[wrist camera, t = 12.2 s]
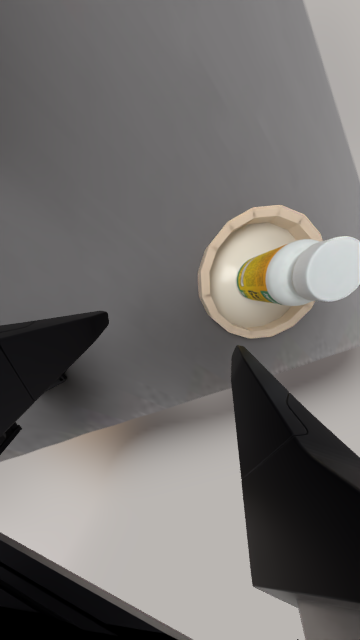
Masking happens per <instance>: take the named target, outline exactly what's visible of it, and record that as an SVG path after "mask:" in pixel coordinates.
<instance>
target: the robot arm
mask: <svg viewBox="0 0 360 640" xmlns="http://www.w3.org/2000/svg"><path fill="white" fill-rule="evenodd" d="M108 324H109V318H108V313H107V312H105V311H96V312H89V313H83V314H76V315H70V316H63V317H56V318H50V319H43V320H37V321H30V322H23V323H16V324H9V325H1V326H0V455H1V453H2V452H3V451H4V450H5V448H6V447H7V446H8V445H9V444H10V442H11V441H12V440H13V439H14V438H15V436H16V435H17V434H18V433H19V432H20V430H21V429H22V428H21V427H20V425H17V423H16V421H17V420H18V419H19V418H20V417H21V416H22V414H23V413H24V412H25V411H26V410H27V409H28V408H29V407H30V406H31V405H32V404H33V403H34V402H35V401H36V400H37V399H38V398H39V397H40V396H41V395H42V394H43V393H44V392H45V391H47V390H49V389H51V388H53V387H55V386H57V385H59V384H61V383H62V382H64V381H65V380H66V379H67V377H66V376H65V375H64V372H65V371H66V370H67V369H68V368H69V367H70V366H71V365H72V364H73V363H74V362H75V361H76V360H77V359H78V358H79V357H80V356H81V355H82V354H83V353H84V352H85V351H86V350H87V349H88V348H89V347H90V346H91V345H92V344H93V343H94V342H95V341H96V339H97V338H98V337H99V336H100V335H101V333H102V332H103V331H104V330H105V328H106V327H107V326H108ZM231 383H232V392H233V401H234V402H233V403H234V412H235V422H236V432H237V441H238V450H239V460H240V470H241V479H242V490H243V500H244V510H245V519H246V529H247V539H248V548H249V558H250V568H251V576H252V584H253V587H255V588H257V589H259V590H261V591H263V592H265V593H267V594H270V595H272V596H274V597H276V598H278V599H280V600H282V601H284V602H287V603H289V604H291V605H293V606H295V607H297V608H299V613H300V618H301V622H302V626H303V631H304V635H305V640H360V457H358V456H357V455H356V454H355V453H354V452H353V451H352V450H350V448H348V447H347V446H346V445H345V444H344V443H343V442H342V441H341V440H339V439H338V438H337V437H336V436H335V435H334V434H333V433H332V432H331V431H330V430H329V429H327V428H326V427H325V426H324V425H323V424H322V423H321V422H320V421H319V420H318V419H317V418H315V417H314V416H313V415H312V414H311V413H310V412H309V411H308V410H307V409H306V408H305V407H304V406H303V405H302V404H301V403H300V402H299V401H297V400H296V398H294V396H293V395H292V394H291V393H289V392H288V390H287V389H286V388H285V387H284V386H282V384H281V383H279V381H278V380H276V378H275V377H274V376H273V375H272V374H271V373H270V372H269V371H268V370H267V369H266V368H265V367H264V366H263V365H262V364H261V363H260V362H259V361H258V360H257V359H256V358H255V357H254V356H253V355H252V354H251V353H250V352H249V351H248V350H247V349H246V348H245V347H243V346H239V345H237V346H236V348H235V350H234V352H233V355H232V366H231ZM0 640H192V639H191V638H189V637H187V636H185V635H184V634H182V633H180V632H178V631H177V630H174V629H173V628H171V627H169V626H168V625H166V624H164V623H162V622H160V621H158V620H157V619H155V618H153V617H151V616H150V615H148V614H146V613H144V612H142V611H141V610H139V609H137V608H135V607H133V606H132V605H130V604H128V603H126V602H124V601H122V600H121V599H119V598H117V597H116V596H114V595H112V594H110V593H108V592H107V591H105V590H103V589H101V588H99V587H98V586H96V585H94V584H92V583H90V582H88V581H87V580H85V579H83V578H81V577H79V576H78V575H76V574H74V573H72V572H71V571H68V570H67V569H65V568H63V567H62V566H59V565H58V564H56V563H54V562H53V561H51V560H49V559H47V558H45V557H44V556H42V555H40V554H38V553H36V552H35V551H33V550H31V549H29V548H27V547H26V546H24V545H22V544H20V543H18V542H17V541H15V540H13V539H11V538H9V537H8V536H6V535H4V534H2V533H0ZM297 640H298V639H297Z"/></svg>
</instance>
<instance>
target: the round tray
mask: <svg viewBox="0 0 360 640" xmlns="http://www.w3.org/2000/svg"><path fill="white" fill-rule="evenodd" d="M303 239H312V240H317V241H322V237H321V234H320V233H319V232H318V230H317V229H316V228H315V227H314V226H313V224H312V223H311V222H310V221H309V219H308V218H307V217H306V216H305V215H304V214H302V213H299V212H297V211H294V210H292V209H289V208H287V207H285V206H282V205H274V206H263V207H253V208H251V209H249V210H248V211H246V212H244V213H242V214H241V215H239V216H237V217H235V218H234V219H232V220H230V221H228V222H227V223H226V225H225V226H224V227H223V228H222V229H221V231H220V232H219V233H218V235H217V236H216V237H215V238H214V240H213V241H212V242H211V243H210V245H209V246H208V247H207V248H206V250H205V251H204V255H203V258H202V261H201V264H200V267H199V270H198V273H197V275H198V291H199V297H200V300H201V302H202V304H203V306H204V308H205V310H206V312H207V314H208V315H209V316H210V317H211V318H212V319H214V320H215V321H216V322H217V323H218V324H220V325H221V326H222V327H223V328H224V329H225V330H227V331H228V332H229V333H232V334H236V335H239V336H243V337H246V338H249V339H251V338H261V337H271V336H274V335H276V334H278V333H280V332H282V331H284V330H286V329H288V328H290V327H292V326H294V325H295V324H296V323H297V322H298V321H299V320H300V319H301V318H302V317H303V316H304V315H305V314H306V313H307V312H308V311H309V310H310V309H311V308H312V306H313V304H314V302H315V301H312V302H310V303H307V304H304V305H300V306H286V305H280V304H274V303H268V302H262V301H256V300H251V299H247V298H245V297H243V296H242V295H241V294H240V293H239V291H238V289H237V286H236V275H237V272H238V270H239V268H240V267H241V266H242V264H243V263H245V262H246V261H247V260H249V259H251V258H253V257H256V256H258V255H261V254H263V253H266V252H268V251H271V250H274V249H276V248H279V247H281V246H283V245H286V244H289V243H291V242H294V241H297V240H303Z"/></svg>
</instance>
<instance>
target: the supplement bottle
mask: <svg viewBox="0 0 360 640" xmlns="http://www.w3.org/2000/svg"><path fill="white" fill-rule="evenodd" d="M359 284H360V241H358V240H357V239H355V238H353V237H348V236H341V237H335V238H332V239H328V240H325V241H317V240H312V239H303V240H297V241H294V242H291V243H289V244H286V245H283V246H281V247H279V248H276V249H274V250H271V251H268V252H266V253H263V254H261V255H258V256H256V257H253V258H251V259H249V260H247V261H246V262H245V263H243V264H242V266H241V267H240V268H239V270H238V272H237V275H236V286H237V289H238V291H239V293H240V294H241V295H242V296H243V297H245V298H247V299H251V300H256V301H262V302H268V303H274V304H280V305H286V306H300V305H304V304H307V303H310V302H312V301H324V302H331V301H337V300H340V299H342V298H345V297H346V296H348V295H350V294H351V293H352V292H353V291H354V290H355V289H356V288H357V287H358V286H359Z"/></svg>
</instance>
